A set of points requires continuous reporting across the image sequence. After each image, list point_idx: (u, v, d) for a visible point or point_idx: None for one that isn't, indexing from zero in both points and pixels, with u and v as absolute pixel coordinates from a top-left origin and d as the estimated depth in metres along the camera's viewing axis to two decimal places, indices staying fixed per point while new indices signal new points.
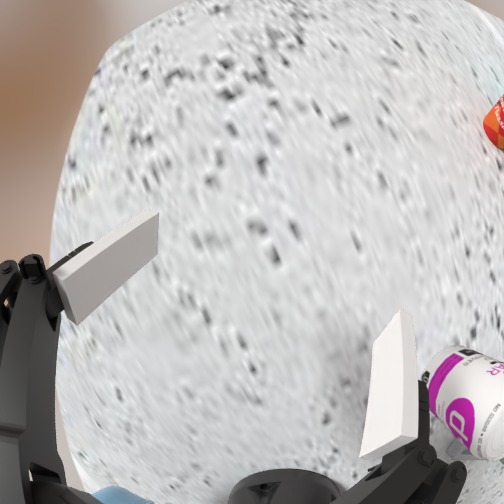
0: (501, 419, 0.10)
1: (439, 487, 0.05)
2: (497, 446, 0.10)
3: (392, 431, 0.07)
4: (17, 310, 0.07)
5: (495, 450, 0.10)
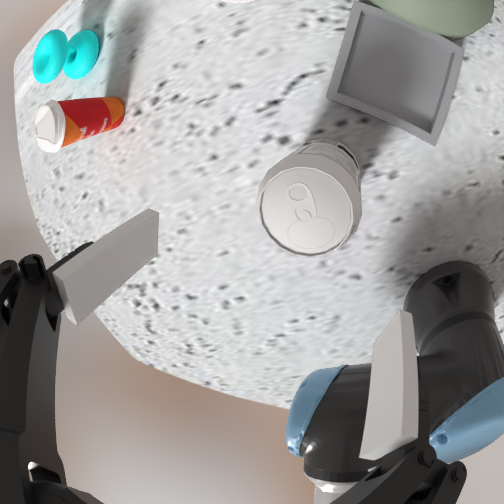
0: (288, 245, 0.21)
1: (439, 487, 0.05)
2: (328, 235, 0.20)
3: (392, 431, 0.07)
4: (17, 310, 0.07)
5: (333, 236, 0.20)
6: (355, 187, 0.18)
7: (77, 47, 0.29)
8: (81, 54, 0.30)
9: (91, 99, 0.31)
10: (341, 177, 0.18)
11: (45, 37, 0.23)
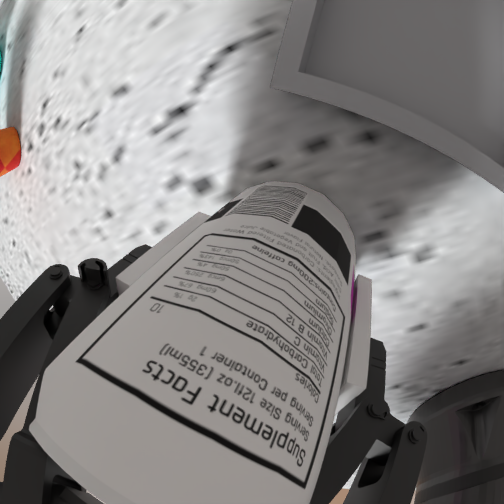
0: None
1: (397, 451, 0.06)
2: None
3: None
4: (69, 315, 0.08)
5: None
6: None
7: None
8: None
9: None
10: None
11: None
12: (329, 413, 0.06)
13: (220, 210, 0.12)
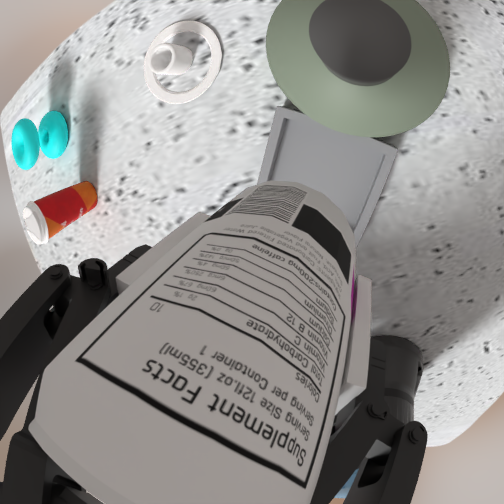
0: None
1: (397, 451, 0.06)
2: None
3: None
4: (69, 315, 0.08)
5: None
6: None
7: (48, 132, 0.37)
8: (53, 140, 0.38)
9: (66, 192, 0.39)
10: None
11: (17, 127, 0.31)
12: (329, 413, 0.06)
13: (220, 209, 0.12)
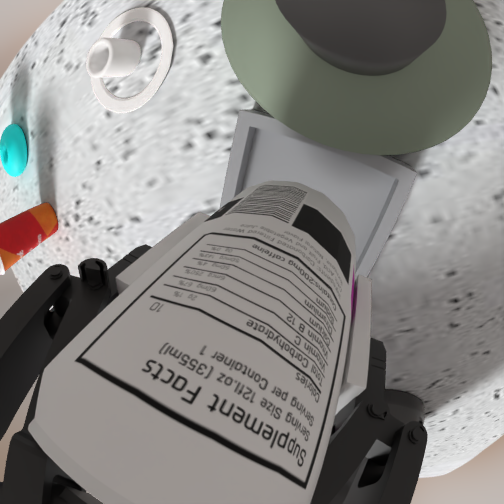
0: None
1: (397, 451, 0.06)
2: None
3: None
4: (69, 315, 0.08)
5: None
6: None
7: (7, 148, 0.29)
8: (11, 157, 0.30)
9: (22, 218, 0.31)
10: None
11: None
12: (330, 413, 0.06)
13: (220, 209, 0.12)
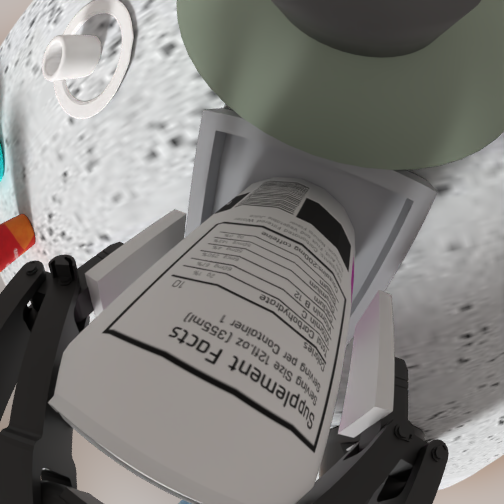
0: (153, 480, 0.07)
1: (419, 468, 0.05)
2: None
3: (367, 404, 0.08)
4: (43, 311, 0.07)
5: None
6: (292, 468, 0.04)
7: None
8: None
9: None
10: (225, 472, 0.04)
11: None
12: (334, 384, 0.07)
13: (228, 203, 0.13)
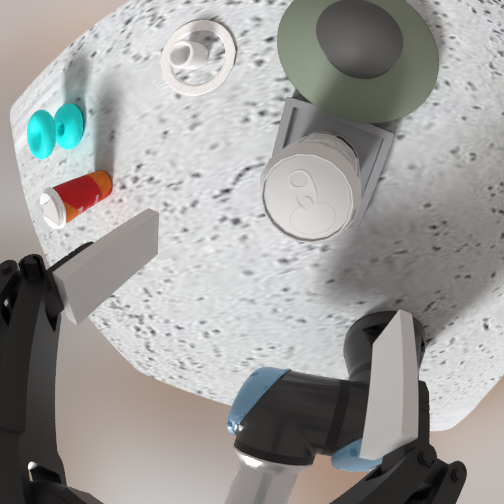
0: (291, 231, 0.22)
1: (439, 487, 0.05)
2: (329, 220, 0.20)
3: (392, 431, 0.07)
4: (17, 310, 0.07)
5: (334, 221, 0.20)
6: (354, 173, 0.19)
7: (64, 123, 0.40)
8: (68, 130, 0.41)
9: (83, 180, 0.41)
10: (340, 164, 0.18)
11: (34, 118, 0.34)
12: (359, 173, 0.21)
13: (305, 135, 0.27)
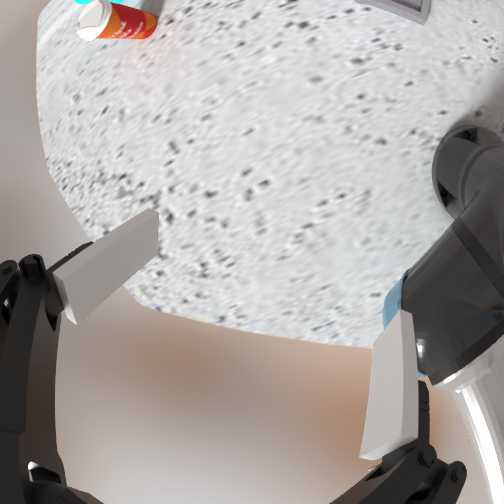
0: None
1: (439, 487, 0.05)
2: None
3: (392, 431, 0.07)
4: (17, 310, 0.07)
5: None
6: None
7: None
8: None
9: (130, 7, 0.28)
10: None
11: None
12: None
13: None
